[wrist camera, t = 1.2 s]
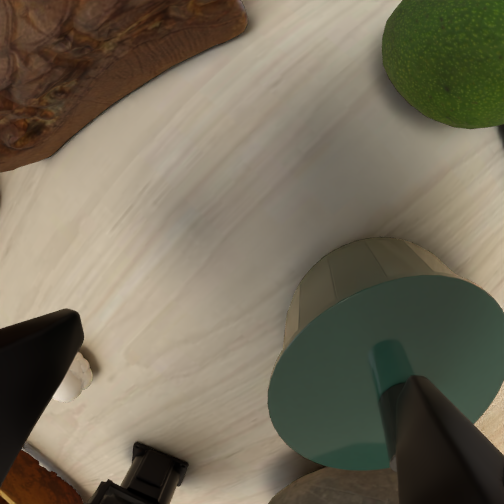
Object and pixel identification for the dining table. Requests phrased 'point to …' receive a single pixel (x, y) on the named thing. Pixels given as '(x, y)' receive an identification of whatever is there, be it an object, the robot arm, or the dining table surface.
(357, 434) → the pot lid
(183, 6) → the sculpture
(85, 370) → the microfossil shell
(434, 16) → the fruit
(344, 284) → the pot
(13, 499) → the clay pot
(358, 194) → the dining table surface
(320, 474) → the bowl
